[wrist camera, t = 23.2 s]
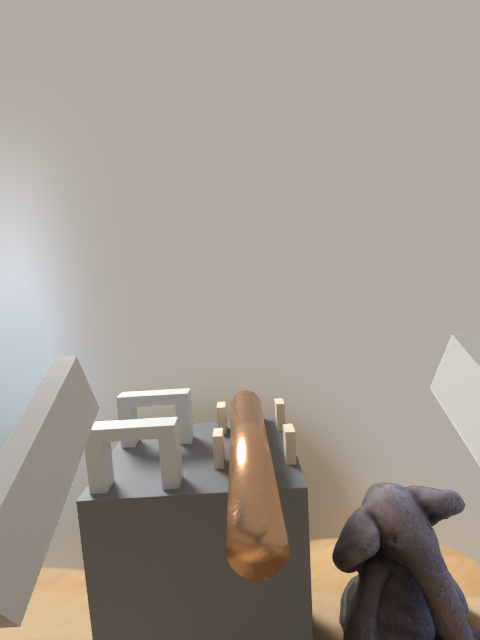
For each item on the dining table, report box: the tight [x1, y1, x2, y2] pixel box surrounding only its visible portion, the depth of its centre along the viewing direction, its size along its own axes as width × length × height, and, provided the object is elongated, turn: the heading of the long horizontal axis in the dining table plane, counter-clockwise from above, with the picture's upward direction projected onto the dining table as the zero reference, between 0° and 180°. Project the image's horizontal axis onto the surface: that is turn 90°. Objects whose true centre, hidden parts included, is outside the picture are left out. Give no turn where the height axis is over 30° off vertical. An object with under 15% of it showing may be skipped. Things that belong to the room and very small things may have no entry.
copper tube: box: [226, 391, 289, 580], centre depth 35 cm, size 26×4×4 cm, turn 1°
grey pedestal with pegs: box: [77, 388, 313, 640], centre depth 41 cm, size 21×16×34 cm
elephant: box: [332, 483, 480, 640], centre depth 39 cm, size 21×25×21 cm
